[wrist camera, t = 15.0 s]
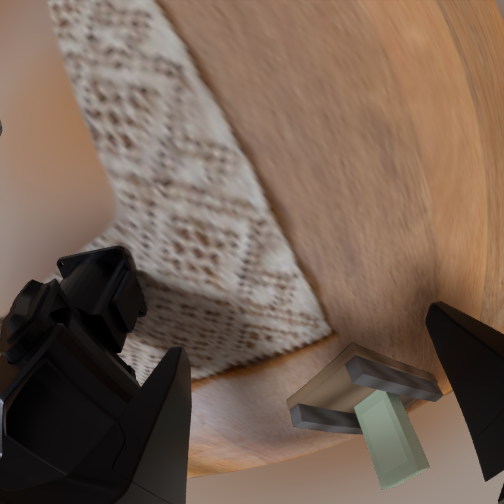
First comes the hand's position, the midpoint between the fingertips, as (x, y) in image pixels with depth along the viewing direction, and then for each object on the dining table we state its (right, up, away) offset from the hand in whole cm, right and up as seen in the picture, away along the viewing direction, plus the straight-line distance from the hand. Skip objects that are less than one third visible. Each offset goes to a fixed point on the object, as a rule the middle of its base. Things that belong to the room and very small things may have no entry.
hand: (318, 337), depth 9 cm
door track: (+13, -15, +23) cm, 30 cm away
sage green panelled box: (+13, -16, +22) cm, 30 cm away
